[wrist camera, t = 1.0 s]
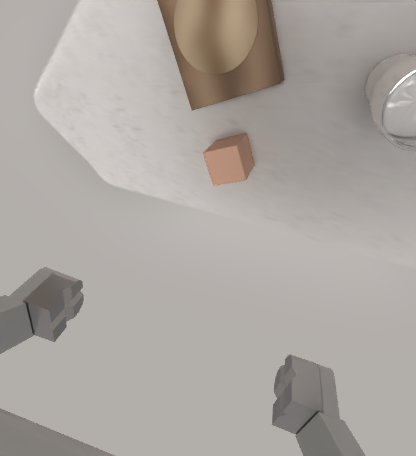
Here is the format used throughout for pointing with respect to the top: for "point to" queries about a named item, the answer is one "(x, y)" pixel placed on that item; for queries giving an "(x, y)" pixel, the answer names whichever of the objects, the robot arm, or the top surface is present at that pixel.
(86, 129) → the top surface
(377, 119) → the beer glass
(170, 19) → the block
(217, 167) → the terracotta block
